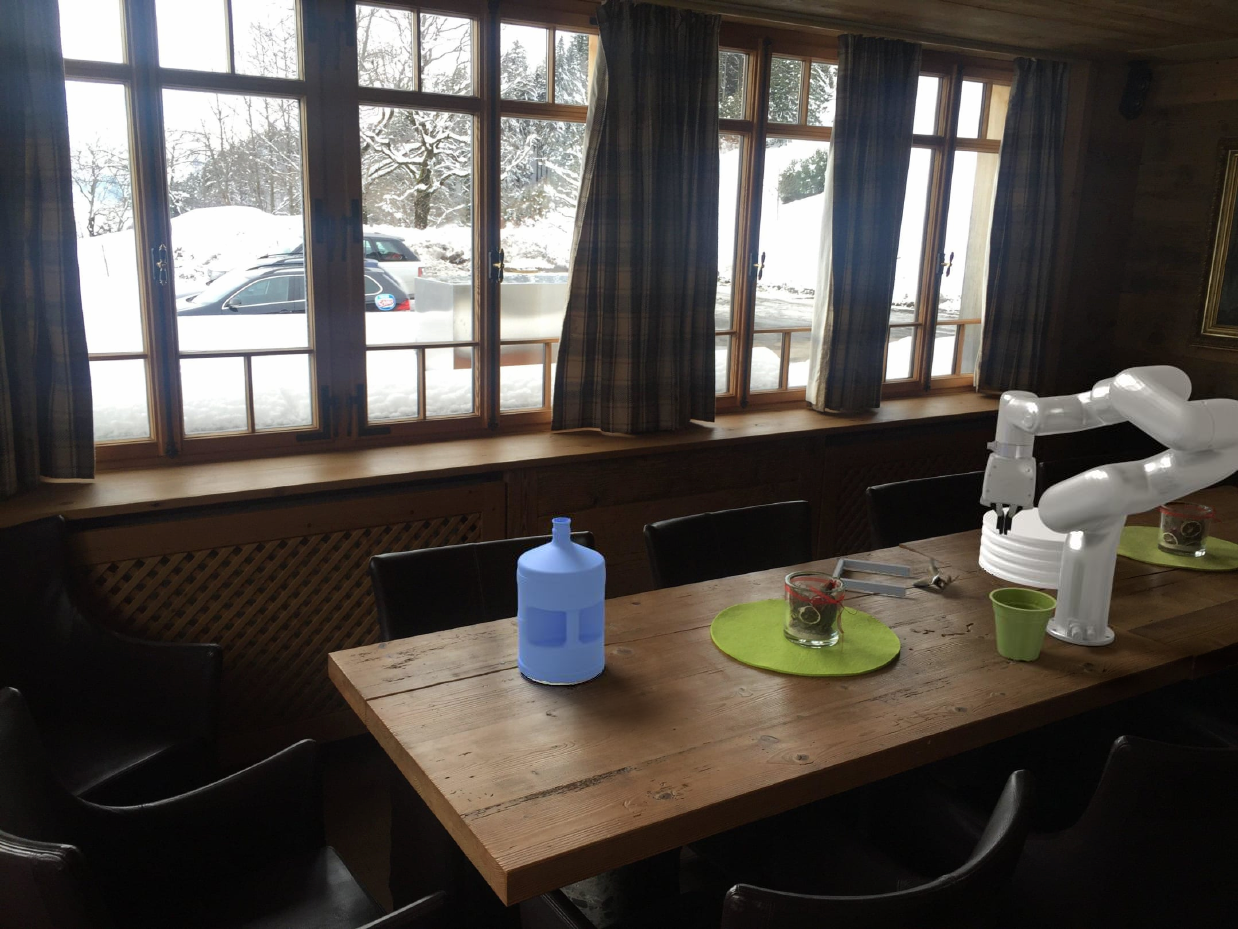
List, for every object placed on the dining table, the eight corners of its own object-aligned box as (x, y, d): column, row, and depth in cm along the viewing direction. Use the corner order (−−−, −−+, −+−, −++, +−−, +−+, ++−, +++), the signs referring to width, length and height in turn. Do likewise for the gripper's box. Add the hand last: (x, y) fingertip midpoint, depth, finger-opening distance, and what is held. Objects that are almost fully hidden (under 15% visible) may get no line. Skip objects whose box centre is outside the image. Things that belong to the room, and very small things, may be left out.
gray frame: (905, 598, 217) (906, 587, 217) (830, 589, 223) (831, 578, 222) (909, 576, 231) (910, 566, 231) (839, 568, 236) (840, 558, 236)
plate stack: (964, 549, 252) (968, 505, 250) (1077, 552, 251) (1082, 508, 249) (1000, 588, 225) (1006, 540, 222) (1127, 592, 224) (1134, 543, 221)
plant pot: (990, 637, 198) (996, 583, 195) (1055, 650, 192) (1062, 595, 189) (977, 658, 188) (983, 601, 185) (1045, 673, 182) (1052, 615, 179)
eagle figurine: (963, 586, 222) (934, 567, 229) (957, 565, 218) (927, 547, 225) (938, 608, 221) (909, 588, 228) (931, 587, 217) (902, 567, 224)
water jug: (508, 657, 185) (506, 512, 179) (588, 646, 191) (589, 504, 184) (531, 694, 171) (530, 537, 164) (617, 680, 176) (619, 528, 170)
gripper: (975, 450, 210) (966, 533, 214) (1052, 457, 205) (1041, 542, 209) (975, 442, 217) (966, 523, 221) (1050, 449, 212) (1039, 532, 216)
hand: (1003, 532), depth 215 cm, fingers closed
